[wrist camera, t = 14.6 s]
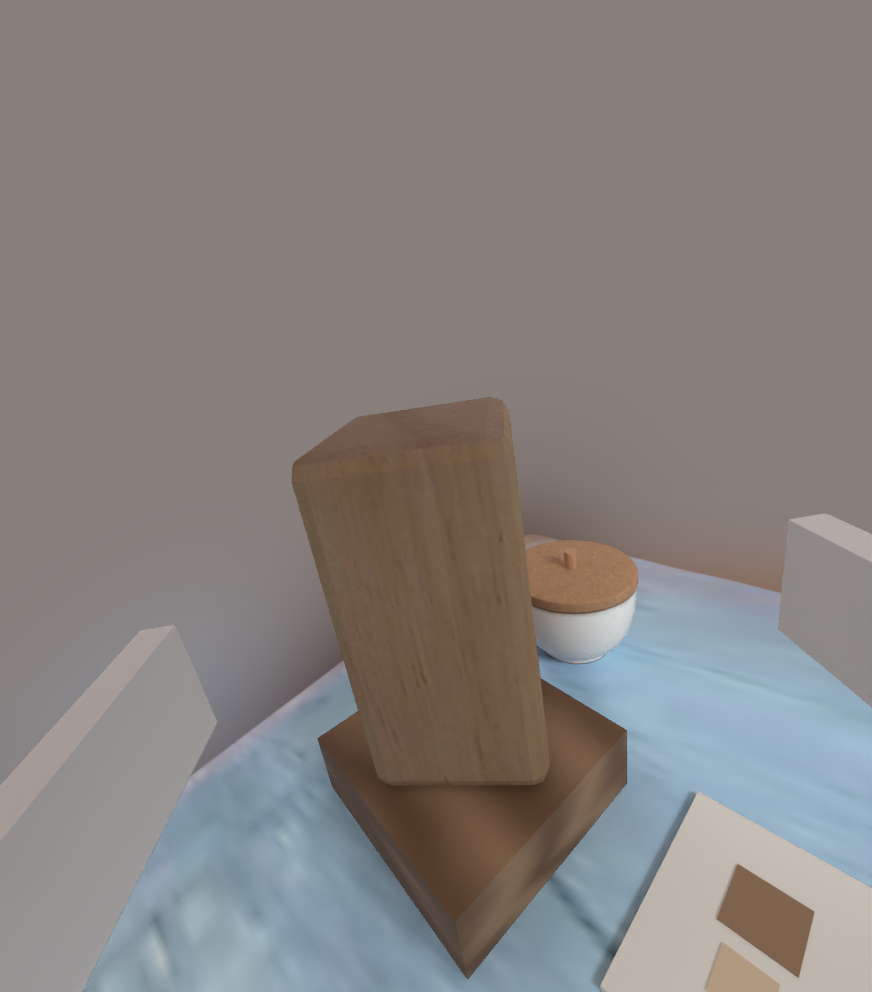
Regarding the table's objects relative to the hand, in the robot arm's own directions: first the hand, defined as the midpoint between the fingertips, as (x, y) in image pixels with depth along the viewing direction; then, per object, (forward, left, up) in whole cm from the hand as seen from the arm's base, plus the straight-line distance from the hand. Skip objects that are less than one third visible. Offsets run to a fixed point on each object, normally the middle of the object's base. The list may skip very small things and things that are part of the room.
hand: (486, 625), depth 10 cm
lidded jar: (-22, -18, -23) cm, 37 cm away
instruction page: (-11, +2, -23) cm, 25 cm away
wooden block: (-7, -13, -18) cm, 24 cm away
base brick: (-6, -13, -23) cm, 27 cm away
